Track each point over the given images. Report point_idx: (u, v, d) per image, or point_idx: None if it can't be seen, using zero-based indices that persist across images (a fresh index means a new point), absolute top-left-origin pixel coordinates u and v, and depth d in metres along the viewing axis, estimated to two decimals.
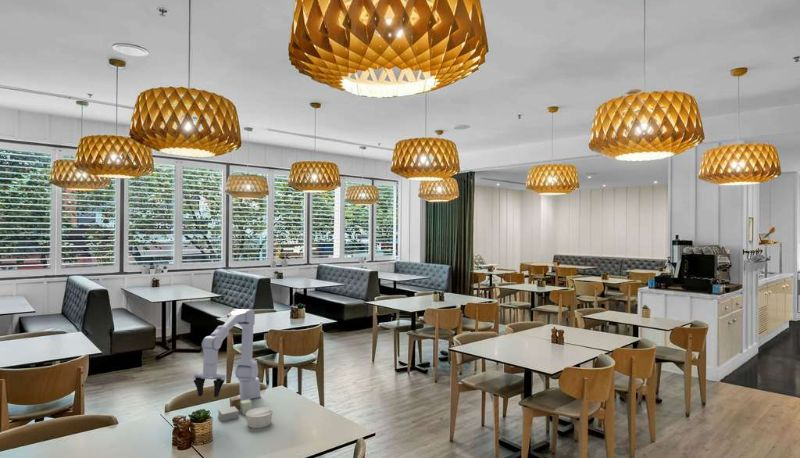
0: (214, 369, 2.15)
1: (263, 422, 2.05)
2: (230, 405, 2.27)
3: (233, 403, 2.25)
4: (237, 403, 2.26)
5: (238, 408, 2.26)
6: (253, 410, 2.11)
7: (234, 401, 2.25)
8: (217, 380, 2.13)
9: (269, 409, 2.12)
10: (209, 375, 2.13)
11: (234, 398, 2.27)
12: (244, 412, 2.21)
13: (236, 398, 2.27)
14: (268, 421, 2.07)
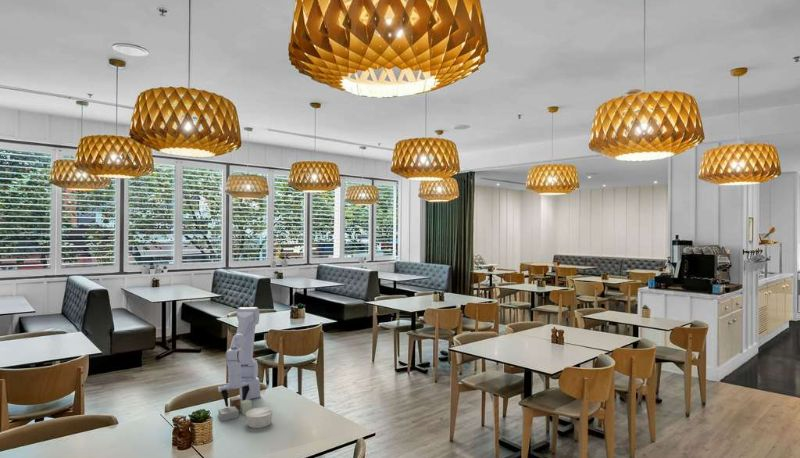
0: (241, 378, 2.28)
1: (263, 422, 2.05)
2: (230, 405, 2.27)
3: (233, 403, 2.25)
4: (237, 403, 2.26)
5: (238, 408, 2.26)
6: (253, 410, 2.11)
7: (234, 401, 2.25)
8: (246, 387, 2.28)
9: (269, 409, 2.12)
10: (239, 385, 2.26)
11: (234, 398, 2.27)
12: (244, 412, 2.21)
13: (236, 398, 2.27)
14: (268, 421, 2.07)
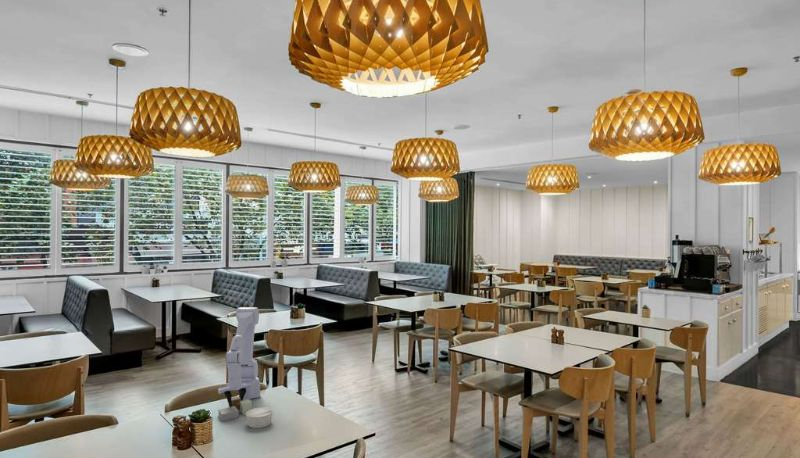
0: (241, 380, 2.28)
1: (263, 422, 2.05)
2: None
3: (233, 403, 2.25)
4: (237, 403, 2.26)
5: (238, 408, 2.26)
6: (253, 410, 2.11)
7: (234, 400, 2.25)
8: (243, 390, 2.28)
9: (269, 409, 2.12)
10: (239, 386, 2.26)
11: (234, 398, 2.27)
12: (244, 412, 2.21)
13: (236, 398, 2.27)
14: (268, 421, 2.07)
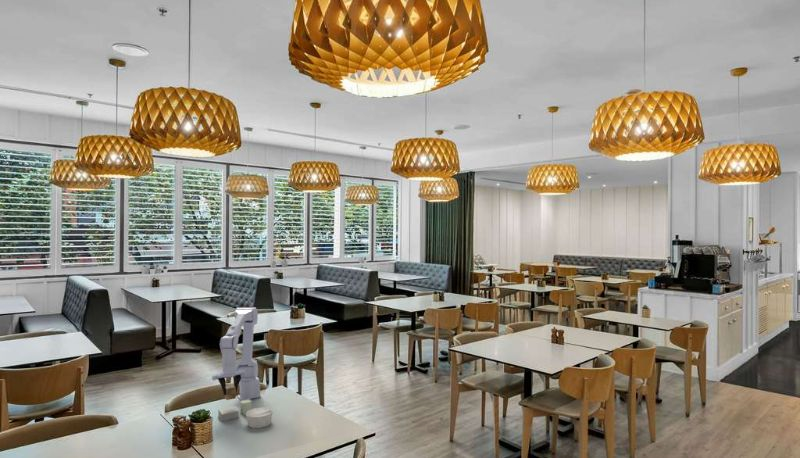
0: (235, 367, 2.21)
1: (263, 422, 2.05)
2: None
3: (228, 391, 2.18)
4: (232, 391, 2.19)
5: (233, 397, 2.19)
6: (253, 410, 2.11)
7: (228, 389, 2.18)
8: (238, 377, 2.21)
9: (269, 409, 2.12)
10: (234, 373, 2.19)
11: (229, 386, 2.20)
12: (244, 412, 2.21)
13: (231, 386, 2.20)
14: (268, 421, 2.07)
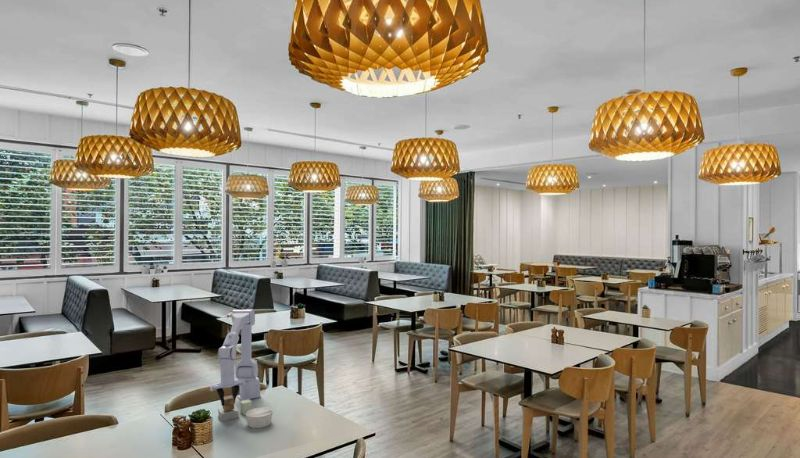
0: None
1: (263, 422, 2.05)
2: None
3: (226, 402, 2.15)
4: (230, 402, 2.16)
5: (231, 407, 2.16)
6: (253, 410, 2.11)
7: (226, 400, 2.15)
8: (236, 387, 2.18)
9: (269, 409, 2.12)
10: (232, 384, 2.16)
11: (227, 397, 2.18)
12: (244, 412, 2.21)
13: (229, 397, 2.18)
14: (268, 421, 2.07)
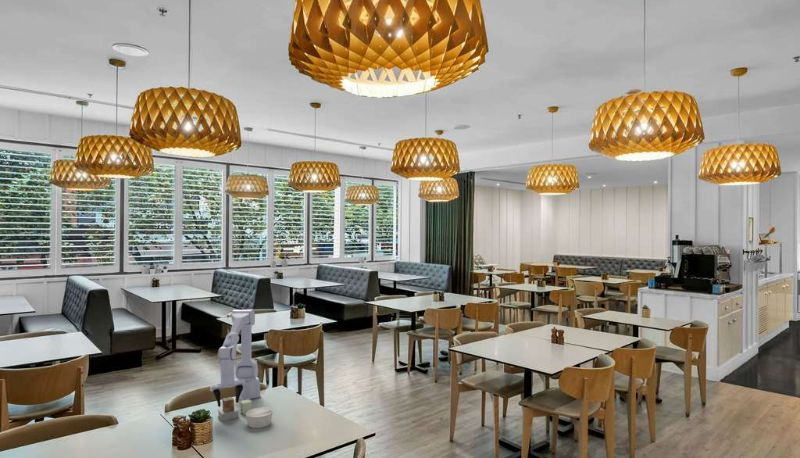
0: None
1: (263, 422, 2.05)
2: (223, 406, 2.17)
3: (226, 404, 2.15)
4: (230, 404, 2.16)
5: (231, 409, 2.16)
6: (253, 410, 2.11)
7: (226, 401, 2.15)
8: (240, 387, 2.19)
9: (269, 409, 2.12)
10: (232, 384, 2.16)
11: (227, 398, 2.18)
12: (244, 412, 2.21)
13: (229, 398, 2.18)
14: (268, 421, 2.07)
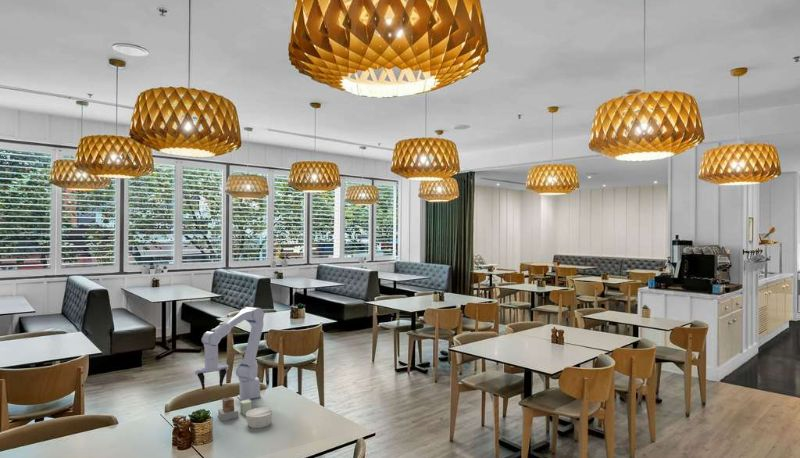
0: None
1: (263, 422, 2.05)
2: (223, 406, 2.17)
3: (226, 404, 2.15)
4: (230, 404, 2.16)
5: (231, 409, 2.16)
6: (253, 410, 2.11)
7: (226, 401, 2.15)
8: (223, 371, 2.28)
9: (269, 409, 2.12)
10: (216, 368, 2.25)
11: (227, 398, 2.18)
12: (244, 412, 2.21)
13: (229, 398, 2.18)
14: (268, 421, 2.07)
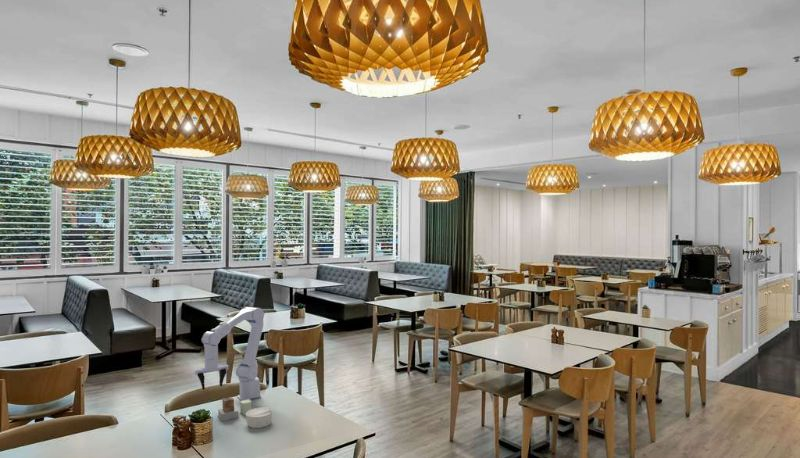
0: None
1: (263, 422, 2.05)
2: (223, 406, 2.17)
3: (226, 404, 2.15)
4: (230, 404, 2.16)
5: (231, 409, 2.16)
6: (253, 410, 2.11)
7: (226, 401, 2.15)
8: (223, 371, 2.28)
9: (269, 409, 2.12)
10: (216, 368, 2.25)
11: (227, 398, 2.18)
12: (244, 412, 2.21)
13: (229, 398, 2.18)
14: (268, 421, 2.07)
